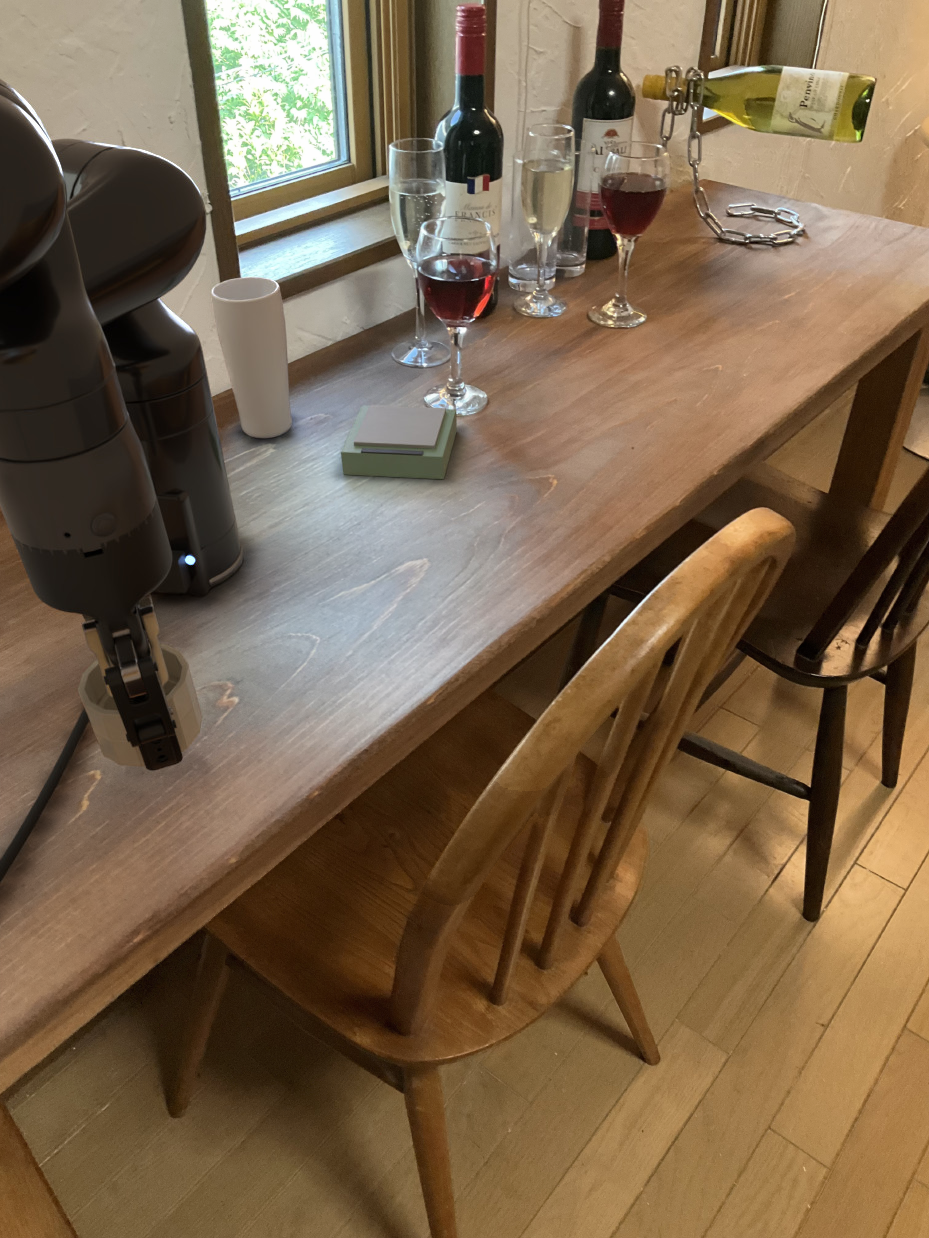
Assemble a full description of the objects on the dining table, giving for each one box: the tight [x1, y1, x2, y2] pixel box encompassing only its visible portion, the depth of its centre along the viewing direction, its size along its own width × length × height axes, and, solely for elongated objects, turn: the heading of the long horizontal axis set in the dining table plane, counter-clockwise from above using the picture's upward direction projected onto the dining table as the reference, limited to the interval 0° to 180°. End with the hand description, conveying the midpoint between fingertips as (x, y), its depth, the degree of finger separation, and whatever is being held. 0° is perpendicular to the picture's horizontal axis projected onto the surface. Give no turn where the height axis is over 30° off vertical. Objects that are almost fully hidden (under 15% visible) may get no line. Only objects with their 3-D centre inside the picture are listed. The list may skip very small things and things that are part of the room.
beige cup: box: [77, 643, 203, 768], centre depth 60 cm, size 6×6×5 cm
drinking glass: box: [210, 276, 293, 439], centre depth 97 cm, size 7×7×15 cm
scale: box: [340, 404, 458, 480], centre depth 97 cm, size 10×10×3 cm
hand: (155, 724), depth 61 cm, fingers closed on beige cup, 6 cm apart
